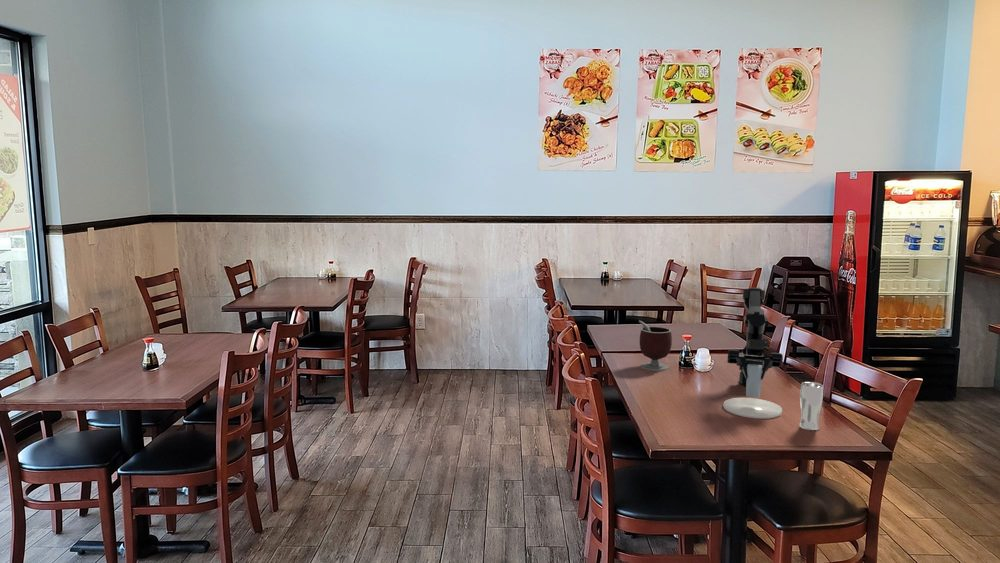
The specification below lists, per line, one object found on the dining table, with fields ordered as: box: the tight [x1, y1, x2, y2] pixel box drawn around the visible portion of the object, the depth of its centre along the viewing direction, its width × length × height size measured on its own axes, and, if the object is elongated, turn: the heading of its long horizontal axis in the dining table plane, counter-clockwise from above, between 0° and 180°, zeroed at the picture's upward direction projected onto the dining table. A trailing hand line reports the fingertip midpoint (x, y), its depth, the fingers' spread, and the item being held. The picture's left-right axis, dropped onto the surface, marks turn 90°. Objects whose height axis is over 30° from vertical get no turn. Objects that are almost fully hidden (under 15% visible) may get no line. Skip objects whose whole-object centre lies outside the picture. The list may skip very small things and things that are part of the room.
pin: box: [745, 364, 762, 398], centre depth 252 cm, size 5×5×11 cm
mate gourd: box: [638, 320, 673, 372], centre depth 309 cm, size 16×14×20 cm
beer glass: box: [798, 381, 824, 431], centre depth 234 cm, size 7×7×15 cm
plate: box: [722, 397, 783, 420], centre depth 253 cm, size 20×20×1 cm
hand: (754, 378), depth 250 cm, fingers closed on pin, 5 cm apart
